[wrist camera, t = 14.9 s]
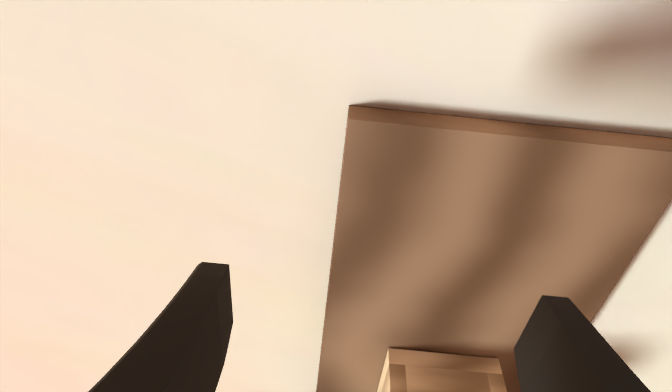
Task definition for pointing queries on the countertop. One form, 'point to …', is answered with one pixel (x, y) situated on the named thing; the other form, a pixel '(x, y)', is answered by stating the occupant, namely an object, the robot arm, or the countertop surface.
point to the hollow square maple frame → (439, 373)
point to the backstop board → (476, 233)
